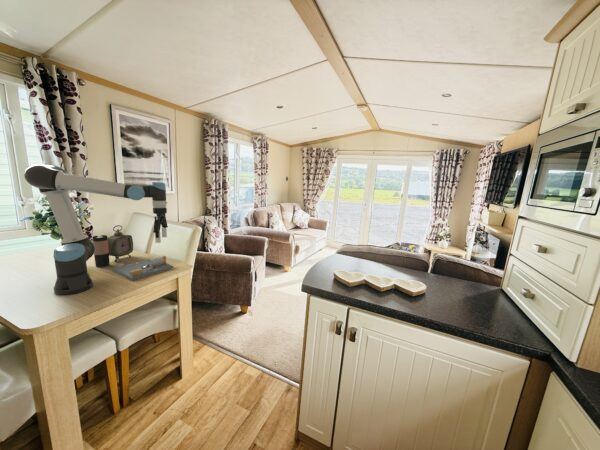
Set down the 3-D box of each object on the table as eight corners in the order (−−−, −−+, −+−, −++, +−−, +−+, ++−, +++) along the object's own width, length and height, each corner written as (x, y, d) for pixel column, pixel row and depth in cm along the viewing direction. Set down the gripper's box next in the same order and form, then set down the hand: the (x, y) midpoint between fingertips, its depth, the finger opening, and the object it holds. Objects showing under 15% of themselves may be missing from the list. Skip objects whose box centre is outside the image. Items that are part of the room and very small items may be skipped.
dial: (145, 270, 150) (144, 262, 149) (140, 267, 153) (139, 260, 152) (168, 263, 162) (167, 256, 161) (163, 261, 165) (162, 255, 164)
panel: (131, 280, 139) (131, 277, 139) (113, 270, 151) (112, 267, 151) (173, 268, 160) (172, 265, 160) (153, 260, 172) (153, 257, 172)
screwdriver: (131, 276, 141) (131, 272, 140) (129, 275, 142) (129, 271, 141) (153, 270, 151) (153, 266, 150) (151, 269, 152) (151, 265, 152)
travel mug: (103, 267, 155) (100, 238, 151) (92, 267, 155) (88, 237, 151) (113, 263, 162) (110, 235, 159) (102, 263, 163) (99, 234, 159)
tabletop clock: (115, 263, 164) (112, 227, 159) (105, 261, 165) (101, 226, 161) (134, 256, 178) (131, 224, 173) (124, 255, 179) (121, 223, 174)
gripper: (160, 210, 138) (162, 245, 142) (171, 205, 162) (172, 235, 166) (145, 209, 136) (148, 245, 140) (159, 204, 160) (160, 235, 164)
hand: (161, 239), depth 153 cm, fingers open, 13 cm apart
